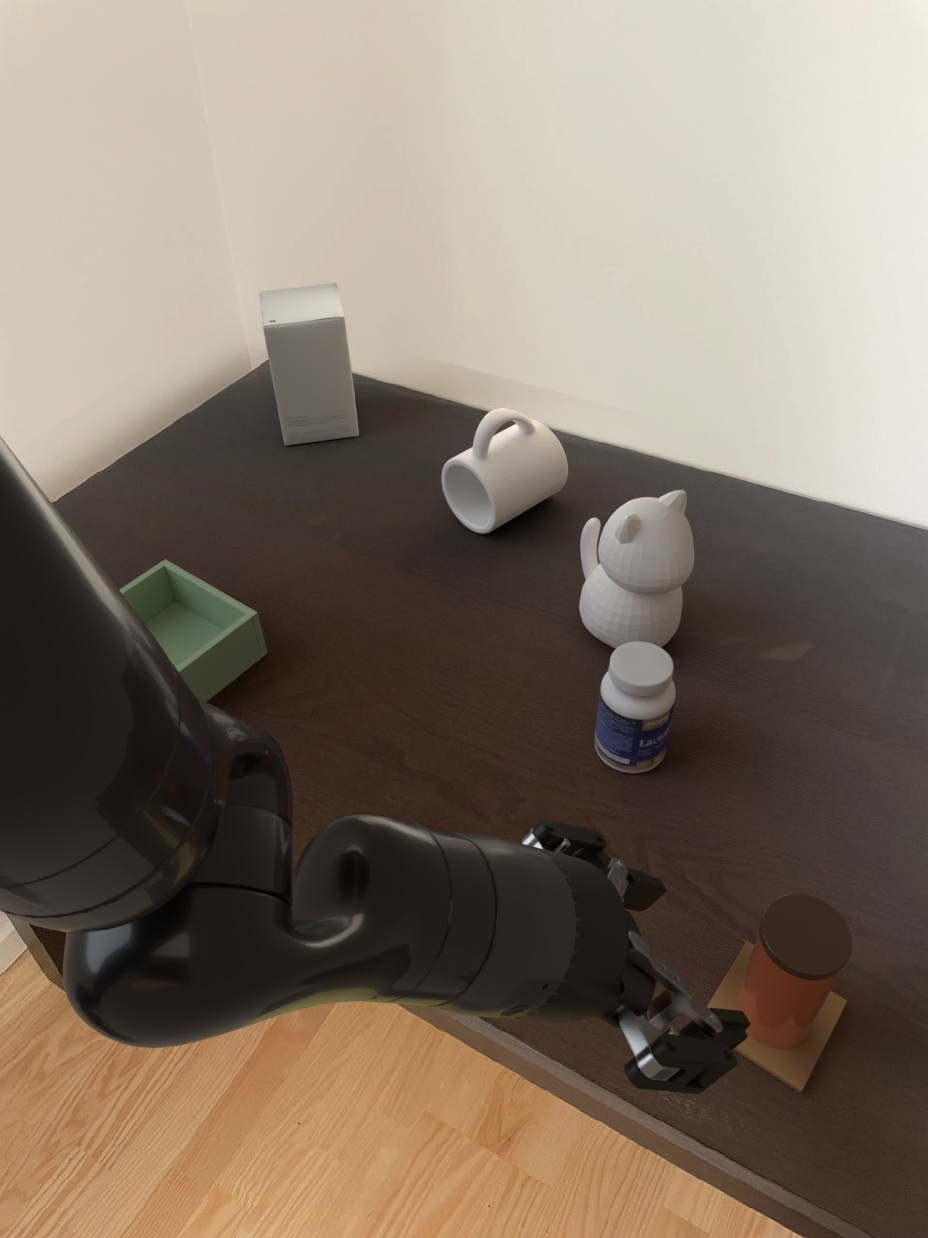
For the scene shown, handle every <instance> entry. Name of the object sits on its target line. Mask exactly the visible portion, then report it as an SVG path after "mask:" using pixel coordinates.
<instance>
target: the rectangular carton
mask: <svg viewBox="0 0 928 1238" xmlns="http://www.w3.org/2000/svg"><path fill="white" fill-rule="evenodd" d="M259 302H260V303H259V304H260V311H261V313H260V314H261V322H262V331H263V337H264V342H265V347H266V352H267V358H268V363H269V368H270V369H269V370H270V374H271V379H272V384H273V390H274V396H275V401H276V407H277V411H278V412H277V413H278V418H279V423H280V428H281V435H282V439H283V444H284V446H292V445H301V444H308V443H315V442H322V441H331V440H338V439H347V438H353V437H359V436H360V431H359V421H358V413H357V404H356V395H355V388H354V379H353V369H352V363H351V354H350V347H349V339H348V333H347V323H346V318H345V314H344V309H343V303H342V301H341V295H340V292H339V288H338V284H337V283H336V282H333V283H322V284H315V285H308V286H306V285H305V286H298V287H290V288H289V287H288V288H280V289H271V290H269V289H268V290H264V291H260V292H259Z"/></svg>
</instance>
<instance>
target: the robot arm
mask: <svg viewBox="0 0 928 1238" xmlns="http://www.w3.org/2000/svg"><path fill="white" fill-rule="evenodd" d="M293 831H294V794H293V786H292V780H291V775H290V771H289V767H288V763H287V761H286V757H285V756H284V753H283V750H282V748H281V746H280V744H279V743H278V741H277V740H276V739H275V738H274V737H273V735H272V734H271V733H269V732H268V731H267V730H265V729H263V728H262V727H260V726H258V725H257V724H254V723H251V722H249V721H246V720H243V719H240V718H238V717H236V716H234V715H233V714H230V713H228V712H226V711H224V710H223V709H221V708H219V707H217V706H215V705H213V704H211V703H209V702H208V701H207V702H205V701H203V700H201V699H199V698H197V697H196V696H195V695H194V693H193V692H192V690H191V689H190V688H189V686H188V685H187V683H186V682H185V680H184V679H183V677H182V676H181V675H180V673H179V672H178V670H177V669H176V667H175V666H174V664H173V663H172V662H171V660H170V659H169V657H168V656H167V654H166V653H165V651H164V650H163V648H162V647H161V645H160V644H159V643H158V641H157V640H156V638H155V637H154V636H153V634H152V633H151V632H150V631H149V629H148V628H147V627H146V625H145V624H144V623H143V621H142V620H141V619H140V617H139V616H138V615H137V613H136V612H135V611H134V609H133V608H132V607H131V605H130V604H129V603H128V601H127V600H126V598H125V597H124V596H123V594H122V593H121V592H120V588H118V586H117V585H116V584H115V582H114V581H113V580H112V578H111V577H110V576H109V574H108V573H107V572H106V570H105V569H104V568H103V566H102V565H101V564H100V563H99V561H98V560H97V559H96V558H95V556H94V555H93V553H92V552H91V551H90V550H89V548H88V547H87V546H86V545H85V543H84V542H83V540H82V539H81V538H80V537H79V536H78V534H77V533H76V531H75V530H74V529H73V528H72V526H71V525H70V524H69V523H68V522H67V520H66V519H65V517H64V516H63V515H62V513H60V511H59V510H58V509H57V507H56V506H55V505H54V504H53V502H52V501H51V500H50V498H49V497H48V496H47V494H46V493H45V492H44V490H43V489H42V488H41V486H40V485H39V484H38V482H37V481H36V480H35V479H34V477H33V476H32V474H31V473H29V471H28V470H27V468H26V467H25V466H24V465H23V463H22V462H21V461H20V459H19V458H18V456H17V455H16V454H15V453H14V452H13V450H12V449H11V447H9V445H8V444H7V442H6V441H5V440H4V438H3V437H2V436H1V435H0V912H2V913H3V914H6V915H8V916H10V917H13V918H15V919H17V920H20V921H22V922H24V923H26V924H28V925H33V926H36V927H39V928H43V929H47V930H52V931H58V932H64V933H65V934H66V935H65V944H64V950H63V951H64V952H63V963H62V975H63V976H62V977H63V987H64V992H65V994H66V999H67V1002H68V1003H69V1004H70V1006H71V1008H72V1009H73V1011H74V1012H75V1014H76V1015H77V1016H78V1017H79V1018H80V1019H81V1020H82V1021H83V1022H84V1023H85V1024H86V1025H87V1026H88V1027H90V1028H91V1029H92V1030H94V1031H95V1032H96V1033H97V1034H100V1035H101V1036H102V1037H104V1038H107V1039H109V1040H112V1041H114V1042H117V1043H119V1044H121V1045H124V1046H128V1047H132V1048H141V1049H165V1048H174V1047H175V1048H176V1047H181V1046H185V1045H186V1046H187V1045H191V1044H195V1043H199V1042H203V1041H206V1040H210V1039H213V1038H216V1037H220V1036H223V1035H226V1034H230V1033H231V1032H232V1033H233V1032H235V1031H239V1030H241V1029H244V1028H248V1027H251V1026H252V1025H255V1024H258V1023H261V1022H264V1021H267V1020H270V1019H273V1018H276V1017H279V1016H281V1015H284V1014H285V1015H286V1014H289V1013H292V1012H297V1011H300V1010H304V1009H308V1008H312V1007H315V1006H321V1005H328V1004H329V1005H330V1004H338V1003H351V1002H353V1003H355V1002H365V1003H366V1002H367V1003H379V1004H393V1005H405V1006H406V1005H407V1006H419V1007H429V1008H434V1009H438V1010H439V1011H440V1010H441V1011H444V1012H447V1013H451V1014H455V1015H461V1016H468V1017H480V1018H496V1019H497V1018H499V1019H505V1020H506V1019H507V1020H522V1021H536V1022H548V1023H549V1022H550V1023H571V1022H577V1021H583V1020H587V1019H593V1018H596V1019H599V1020H601V1021H603V1022H604V1023H606V1024H607V1025H609V1026H611V1027H612V1028H615V1029H620V1030H621V1031H622V1033H623V1035H624V1037H625V1039H626V1040H627V1043H628V1045H629V1047H630V1049H631V1051H632V1053H633V1055H634V1056H633V1057H632V1058H631V1059H630V1060H629V1061H627V1062H626V1063H625V1064H624V1065H623V1069H624V1073H625V1076H626V1078H627V1079H628V1081H629V1082H630V1083H631V1085H633V1086H634V1087H635V1088H637V1089H638V1090H647V1091H648V1090H650V1091H659V1092H670V1093H681V1094H690V1095H701V1094H702V1093H704V1092H705V1091H706V1090H707V1089H708V1088H710V1087H711V1086H712V1085H713V1084H715V1083H716V1082H718V1081H719V1080H720V1079H721V1078H722V1077H724V1076H725V1075H726V1074H728V1073H729V1072H730V1071H732V1070H733V1069H734V1068H736V1066H737V1065H738V1059H737V1056H736V1055H735V1053H734V1051H733V1049H734V1048H736V1047H737V1046H738V1045H739V1044H741V1043H742V1042H743V1041H744V1040H746V1038H747V1037H748V1035H747V1033H746V1032H745V1030H746V1029H747V1028H748V1027H749V1026H750V1025H751V1023H750V1022H749V1020H748V1019H747V1017H746V1015H745V1014H744V1012H743V1011H738V1010H729V1009H719V1008H710V1009H709V1008H707V1006H706V1005H705V1004H704V1003H703V1002H701V1001H700V1000H699V999H698V998H696V997H695V996H694V995H692V991H691V984H690V982H689V980H688V979H687V978H686V977H685V976H683V975H682V974H681V973H680V972H679V971H677V970H676V969H675V968H674V967H673V966H671V965H670V964H668V963H667V962H666V961H665V960H664V959H662V958H661V957H660V956H659V955H657V954H656V953H655V952H654V951H653V947H652V944H651V943H650V942H649V941H647V940H646V938H644V936H642V933H641V931H640V929H639V927H638V924H637V922H636V921H635V919H634V917H633V916H632V914H631V912H630V911H634V912H644V911H646V910H648V909H649V908H650V907H651V906H652V905H654V904H655V903H656V902H657V901H658V900H659V899H660V898H661V897H663V896H665V894H666V893H667V888H666V885H665V884H664V883H663V881H662V880H661V878H658V877H655V876H651V875H649V874H648V873H646V872H645V871H641V870H637V869H633V868H630V867H628V866H627V865H626V863H625V862H624V861H623V860H622V859H621V858H619V857H618V856H613V857H611V858H610V856H608V854H607V852H606V851H605V850H604V849H606V847H608V841H607V840H606V839H605V837H604V836H603V834H601V833H600V832H599V831H597V830H595V829H592V828H588V827H583V826H580V825H574V824H571V823H567V822H562V821H558V820H553V819H549V818H546V817H545V818H544V817H543V818H541V819H540V820H539V821H538V822H537V823H536V824H535V825H534V826H533V827H532V828H531V829H529V830H528V831H527V832H526V833H525V834H524V835H523V836H522V837H521V838H520V840H518V841H514V840H510V839H506V838H502V837H499V836H494V835H490V834H482V833H470V832H469V833H468V832H456V831H453V830H448V829H445V828H440V827H436V826H432V825H430V824H429V825H428V824H424V823H421V822H417V821H414V820H409V819H404V818H400V817H397V816H393V815H389V814H383V813H377V812H367V811H360V812H359V811H358V812H351V813H350V812H349V813H347V814H343V815H339V816H338V817H335V818H333V819H331V820H330V821H329V822H327V823H325V824H324V825H323V826H322V827H321V828H319V829H318V831H316V833H315V834H314V835H313V836H312V837H311V838H310V839H309V841H308V843H307V844H306V846H305V848H304V849H303V850H302V851H301V854H300V856H299V859H298V861H297V862H296V863H297V864H296V865H295V868H294V869H293V865H294V863H293V862H294V859H293V858H294V855H293V854H294V853H293V851H294V835H293V833H294V832H293ZM629 910H630V911H629ZM657 983H658V984H659V985H660V986H661V987H663V988H664V990H663V991H662V992H661V993H660V994H659V995H657V996H656V997H655V998H654V999H653V996H654V993H655V990H656V987H657ZM681 1015H684V1016H686V1017H687V1018H688V1019H689V1020H691V1021H689V1022H688V1023H687V1024H686V1025H685V1026H684V1027H682V1028H680V1029H679V1028H677V1027H676V1026H675V1025H674V1024H673V1023H671V1022H672V1021H673V1020H674V1019H676V1018H677V1017H678V1016H681Z"/></svg>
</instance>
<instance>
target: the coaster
mask: <svg viewBox="0 0 928 1238" xmlns="http://www.w3.org/2000/svg"><path fill="white" fill-rule="evenodd" d="M754 944H755V943H754ZM754 944H753V942H751V941H749V940H746V941H745V942H744V944H743V946H742V948H741V949H740V951H739V952H738V954H737V956H736V958H735V959H734V961H733V963H732V964H731V966H730V968H729V969H728V971H727V972H726V974H725V976H724V977H723V979H722V981H721V982H720V985H719V986H718V987H717V989H716V991H715V993H714V994H713V996H712V997H711V999H710V1000H709V1002H708V1004H707V1006H706V1007H707V1008H709V1009H710V1008H719V1009H729V1010H736V996H737V993H738V990H739V987H740V984H741V982H742V979H743V976H744V973H745V970H746V967H747V964H748V961H749V959H750V956H751V953H752V950H753V947H754ZM847 1003H848V1000H847V999H845V998H844V997H842V996H840V995H839V994H837V993H836V992H833V991H832V990H831V991H830V993H829V995H828V998H827V1000H826V1002H825V1004H824V1006H823V1008H822V1010H821V1012H820V1014H819V1016H818V1018H817V1020H816V1022H815V1024H814V1026H813V1028H812V1030H811V1032H810V1034H809V1036H808V1037H807V1038H806V1039H805V1040H804V1041H803V1042H802V1043H800V1044H799V1045H797V1046H794V1047H791V1048H774V1047H770V1046H767V1045H765V1044H762V1043H761V1042H759V1041H757V1040H756V1039H754V1038H753V1037H752V1036H751V1035H750V1034H749V1033H748V1032H747V1031H746V1030H745V1032H746V1033H747V1035H748V1037H747V1038H746V1040H744V1041H743V1042H742V1043H741V1044H739V1045H738V1046H737V1047H736V1048H734V1049H733V1050H734V1051H735V1052H736V1053H739V1055H741V1056H742V1057H744V1058H746V1059H747V1060H749V1061H750V1062H751V1063H753V1064H755V1065H756V1066H757V1067H759V1068H760V1069H762V1070H764V1072H766V1073H768V1074H770V1075H771V1076H773V1078H776V1079H777V1080H779V1081H780V1082H782V1083H783V1084H784V1085H786V1086H788V1087H789V1088H791V1089H792V1090H794V1091H795V1092H797V1093H799V1094H802V1093H803V1091H804V1088H805V1087H806V1085H807V1082H808V1081H809V1079H810V1077H811V1074H812V1072H813V1071H814V1069H815V1067H816V1065H817V1063H818V1061H819V1059H820V1057H821V1055H822V1053H823V1051H824V1049H825V1047H826V1045H827V1043H828V1041H829V1040H830V1037H831V1035H832V1033H833V1032H834V1029H835V1027H836V1025H837V1023H838V1021H839V1019H840V1017H841V1015H842V1014H843V1011H844V1010H845V1007H846V1005H847ZM733 1050H732V1051H733Z"/></svg>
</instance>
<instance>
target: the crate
mask: <svg viewBox="0 0 928 1238" xmlns="http://www.w3.org/2000/svg"><path fill="white" fill-rule="evenodd" d="M119 590H120V592H121V593H122V594H123V596H124V597H125V598H126V600H127V601H128V603H129V604H130V605H131V607H132V608H133V609H134V611H135V612H136V613H137V615H138V616H139V617H140V619H141V620H142V621H143V623H144V624H145V625H146V627H147V628H148V629H149V631H150V632H151V633H152V634H153V636H154V637H155V638H156V640H157V641H158V643H159V644H160V645H161V647H162V648H163V650H164V651H165V653H166V654H167V656H168V657H169V659H170V660H171V662H172V663H173V664H174V666H175V667H176V669H177V670H178V672H179V673H180V675H181V676H182V677H183V679H184V680H185V682H186V683H187V685H188V686H189V688H190V689H191V690H192V692H193V693H194V695H195V696H196V697H197V698H199V699H201V700H203V701H205V702H207V703H208V701H210V700H211V699H212V698H214V697H215V696H216V695H217V694H219V693H220V692H221V691H222V690H224V689H225V688H226V687H227V686H229V685H230V684H231V683H232V682H234V681H235V680H236V679H238V678H239V677H240V676H242V674H243V673H245V672H246V671H247V670H248V669H250V668H251V667H252V666H253V665H255V664H257V662H259V661H260V660H261V659H263V658H264V657H265V656H266V655H267V654H268V649H267V646H266V641H265V637H264V634H263V633H264V632H263V630H262V629H263V628H262V626H261V621H260V617H259V613H258V611H256V610H255V609H252V608H250V607H249V606H247V605H246V604H244V603H242V602H241V601H239V600H237V599H235V598H234V597H231V596H230V595H229V594H226V593H224V592H223V591H221V590H219V589H217V588H216V587H215V586H212V585H211V584H209V583H207V582H206V581H204V580H202V579H201V578H199V577H197V576H196V575H193V574H191V573H190V572H188V571H186V570H185V569H183V568H182V567H179V566H178V565H176V564H174V563H172V562H171V561H170V560H167V559H166V558H165V559H163V560H162V561H160V562H159V563H157V564H156V565H154V566H153V567H150V568H149V569H148V570H147V571H145V572H144V573H142V574H141V575H139V576H138V577H136V578H135V579H133V580H132V581H130V582H129V583H127V584H126V585H124V586H123V587H121V588H119Z"/></svg>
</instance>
